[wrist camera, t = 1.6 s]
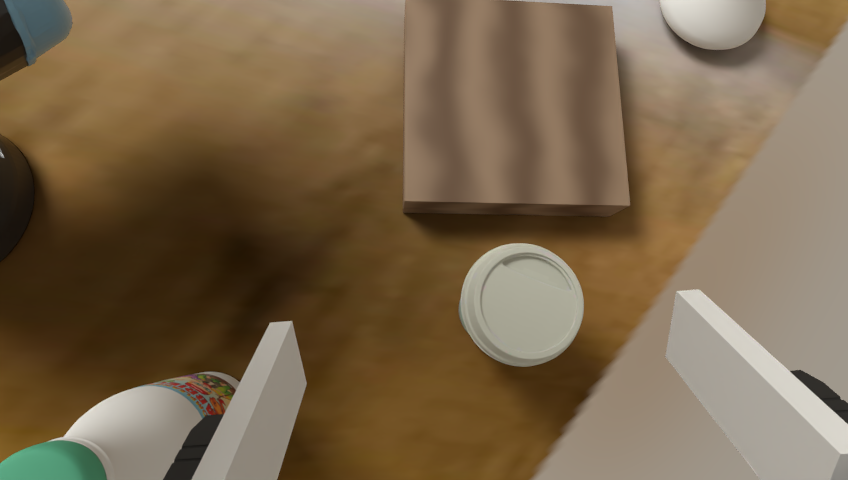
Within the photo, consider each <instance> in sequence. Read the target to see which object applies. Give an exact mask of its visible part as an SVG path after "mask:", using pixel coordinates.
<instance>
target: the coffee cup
mask: <svg viewBox="0 0 848 480" xmlns="http://www.w3.org/2000/svg"><path fill="white" fill-rule="evenodd" d="M583 312H584V300H583V293H582V290H581V286H580V284H579V281H578V279H577V277H576V276H575V274H574V272H573V271H572V270H571V268H570V267H569V266H568V265H567V264H566V263H565V262H564V261H563V260H562V259H560V258H559V257H558V256H557V255H555V254H554V253H552V252H551V251H549V250H547V249H545V248H542V247H540V246H536V245H532V244H525V243H515V244H507V245H503V246H499V247H497V248H494V249H492V250H490V251H489V252H487V253H486V254H484V255H483V256H482V257H480V258H479V259H478V260H477V261H476V262H475V264H474V265H473V266H472V267H471V269H470V271H469V272H468V274H467V276H466V278H465V281H464V284H463V287H462V292H461V299H460V302H459V317H460V321H461V323H462V325H463V327H464V329H465V330H466V331H467V332H468V333H469V335H470V336H471V338H472V339H473V341H474V342H475V343H476V345H477V346H478V347H479V348H480V349H481V350H482V351H483V352H485V353H486V354H487V355H489V356H490V357H492V358H493V359H495V360H497V361H499V362H502V363H505V364H508V365H512V366H520V367H527V366H535V365H539V364H542V363H545V362H547V361H549V360H552V359H554V358H555V357H557V356H558V355H560V354H561V353H562V352H563V351H564V350H565V349H567V348H568V346H569V345H570V344H571V343H572V341H573V340H574V338H575V336H576V334H577V332H578V330H579V327H580V325H581V322H582V318H583Z"/></svg>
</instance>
